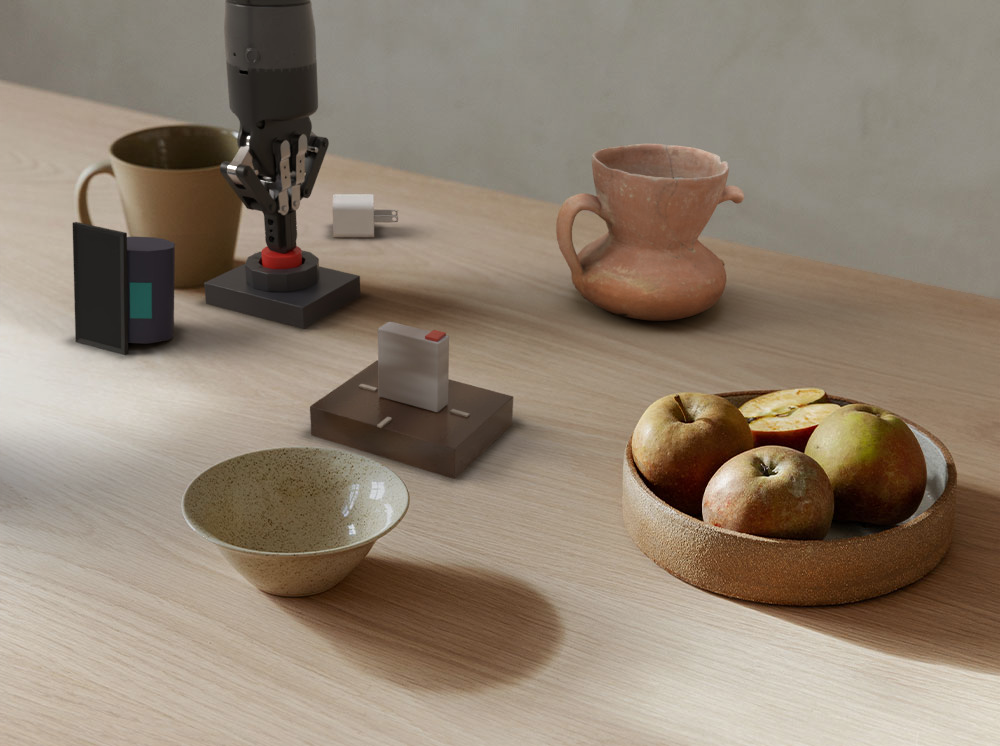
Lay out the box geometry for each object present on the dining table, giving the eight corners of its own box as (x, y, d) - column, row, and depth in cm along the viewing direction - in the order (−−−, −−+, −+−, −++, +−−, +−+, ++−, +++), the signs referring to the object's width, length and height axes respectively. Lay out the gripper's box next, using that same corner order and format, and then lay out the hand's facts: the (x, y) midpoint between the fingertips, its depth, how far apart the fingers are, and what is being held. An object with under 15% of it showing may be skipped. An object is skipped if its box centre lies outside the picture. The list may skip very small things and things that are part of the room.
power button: (254, 270, 101) (253, 252, 100) (278, 258, 104) (277, 241, 103) (286, 278, 99) (285, 260, 99) (310, 266, 102) (309, 248, 102)
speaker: (107, 362, 90) (100, 237, 86) (74, 343, 93) (66, 222, 90) (190, 345, 95) (187, 227, 91) (156, 327, 98) (152, 213, 95)
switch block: (205, 304, 102) (202, 264, 100) (266, 274, 109) (264, 236, 107) (303, 330, 97) (302, 288, 95) (360, 297, 104) (359, 257, 103)
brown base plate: (310, 436, 81) (308, 404, 79) (378, 387, 88) (377, 357, 87) (453, 481, 76) (454, 447, 75) (512, 424, 83) (514, 393, 82)
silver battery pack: (378, 396, 81) (377, 325, 79) (389, 388, 82) (389, 317, 80) (437, 413, 79) (438, 340, 77) (448, 403, 80) (449, 332, 78)
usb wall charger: (334, 227, 122) (333, 192, 120) (397, 227, 123) (397, 192, 121) (333, 239, 119) (332, 203, 117) (398, 239, 119) (398, 204, 118)
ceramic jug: (697, 272, 114) (714, 135, 107) (760, 328, 101) (783, 178, 95) (529, 282, 110) (536, 140, 103) (572, 342, 97) (583, 185, 91)
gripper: (283, 40, 100) (292, 223, 108) (183, 63, 89) (201, 264, 97) (352, 50, 97) (356, 237, 105) (257, 74, 86) (270, 281, 94)
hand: (281, 249), depth 101 cm, fingers closed
